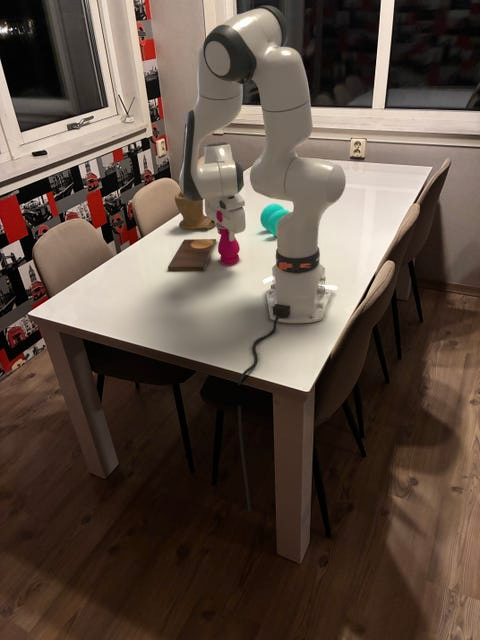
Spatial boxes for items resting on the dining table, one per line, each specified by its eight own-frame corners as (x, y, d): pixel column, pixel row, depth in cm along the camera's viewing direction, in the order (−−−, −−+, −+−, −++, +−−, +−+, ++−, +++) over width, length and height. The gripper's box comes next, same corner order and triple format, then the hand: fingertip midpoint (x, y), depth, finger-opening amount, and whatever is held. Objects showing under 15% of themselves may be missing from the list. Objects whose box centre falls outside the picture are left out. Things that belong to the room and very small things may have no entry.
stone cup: (173, 231, 190) (167, 194, 182) (186, 220, 199) (181, 184, 191) (209, 234, 185) (204, 195, 177) (221, 222, 194) (217, 185, 186)
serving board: (203, 270, 160) (203, 265, 159) (168, 270, 162) (167, 266, 161) (216, 242, 178) (216, 238, 177) (184, 243, 180) (184, 238, 179)
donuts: (284, 225, 186) (283, 200, 180) (296, 234, 178) (295, 208, 172) (259, 231, 183) (258, 205, 178) (270, 240, 175) (269, 214, 170)
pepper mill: (216, 259, 166) (209, 201, 156) (235, 255, 168) (230, 197, 158) (223, 267, 160) (217, 207, 150) (244, 262, 162) (239, 203, 152)
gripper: (197, 189, 159) (202, 229, 166) (229, 207, 144) (233, 250, 151) (214, 185, 161) (218, 224, 169) (247, 202, 146) (250, 244, 154)
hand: (226, 236), depth 160 cm, fingers open, 5 cm apart
